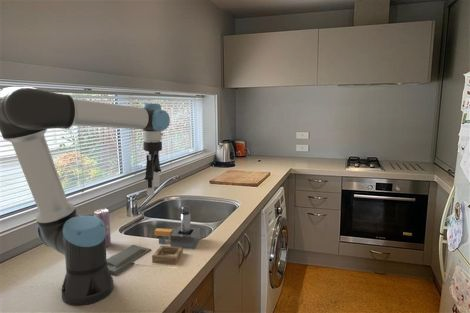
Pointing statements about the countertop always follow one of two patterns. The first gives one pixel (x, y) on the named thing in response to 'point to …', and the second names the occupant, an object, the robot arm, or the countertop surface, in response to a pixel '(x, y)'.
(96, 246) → the robot arm
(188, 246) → the socket block
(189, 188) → the countertop surface
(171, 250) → the square wooden tray
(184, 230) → the gray rectangular bar
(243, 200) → the countertop surface
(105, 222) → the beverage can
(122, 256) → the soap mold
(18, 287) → the countertop surface
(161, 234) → the block
